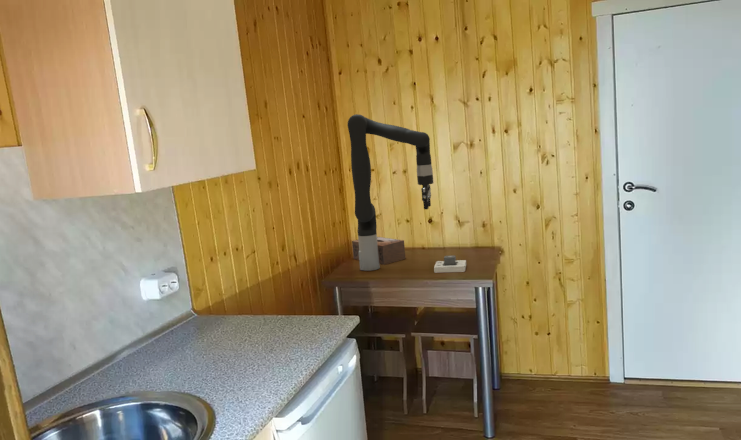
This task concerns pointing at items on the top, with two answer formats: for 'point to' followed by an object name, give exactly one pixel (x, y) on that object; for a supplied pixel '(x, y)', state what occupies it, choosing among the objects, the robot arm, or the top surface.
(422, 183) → the robot arm
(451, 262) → the block
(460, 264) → the outlet plate
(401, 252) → the tissue box cover
